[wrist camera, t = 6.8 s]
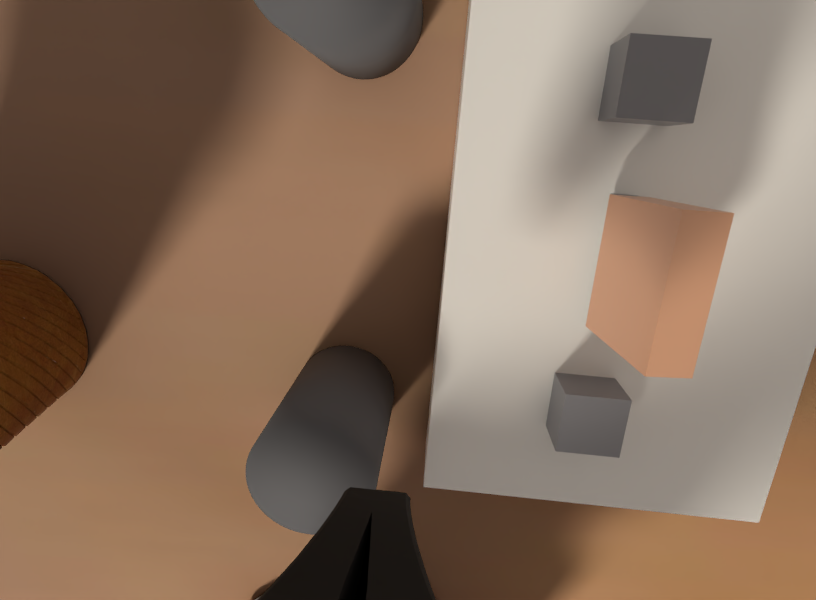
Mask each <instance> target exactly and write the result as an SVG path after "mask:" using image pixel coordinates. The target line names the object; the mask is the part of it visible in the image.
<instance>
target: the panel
mask: <svg viewBox="0 0 816 600" xmlns="http://www.w3.org/2000/svg"><path fill="white" fill-rule="evenodd" d="M610 193H619V194H630V195H637V196H641V197H652V198H657V199H662V200H668V201H673V202H678V203H684V204H689V205H694V206H699V207H705V208H710V209H715V210H721V211H726V212H731V213H734V217H733V221H732V225H731V229H730V232H729V236H728V240H727V244H726V248H725V252H724V256H723V260H722V264H721V268H720V272H719V276H718V280H717V283H716V287H715V291H714V295H713V299H712V303H711V307H710V311H709V315H708V319H707V323H706V327H705V331H704V334H703V338H702V342H701V346H700V350H699V354H698V358H697V362H696V366H695V370H694V374H693V378H692V379H691V378H667V377H645V376H644V375H643V374H641V373H640V372H639V371H638V370H637V369H636V368H634V367H633V366H632V365H631V364H630V363H628V362H627V361H626V360H625V359H624V358H623V357H621V356H620V355H619V354H618V353H617V352H615V351H614V350H613V349H612V348H611V347H610V346H608V345H607V344H606V343H605V342H604V341H602V340H601V339H600V338H599V337H598V336H597V335H595V334H594V333H593V332H592V331H591V330H590V329H588V328H587V327H586V321H587V315H588V310H589V304H590V299H591V294H592V288H593V283H594V277H595V272H596V266H597V261H598V256H599V250H600V245H601V239H602V234H603V228H604V223H605V218H606V212H607V207H608V201H609V196H610ZM815 347H816V0H469V7H468V17H467V27H466V37H465V48H464V58H463V68H462V78H461V89H460V99H459V109H458V119H457V130H456V140H455V150H454V160H453V171H452V181H451V191H450V201H449V212H448V222H447V232H446V242H445V253H444V263H443V273H442V283H441V294H440V304H439V314H438V324H437V335H436V345H435V355H434V365H433V376H432V386H431V396H430V407H429V417H428V427H427V437H426V451H425V468H424V485H423V487H429V488H438V489H447V490H457V491H466V492H476V493H485V494H494V495H504V496H513V497H523V498H532V499H541V500H551V501H560V502H570V503H579V504H588V505H598V506H607V507H617V508H626V509H635V510H645V511H654V512H663V513H673V514H682V515H692V516H701V517H710V518H720V519H729V520H739V521H748V522H757V523H759V520H760V517H761V514H762V511H763V508H764V505H765V502H766V499H767V496H768V492H769V489H770V486H771V483H772V480H773V477H774V474H775V471H776V468H777V465H778V462H779V458H780V455H781V452H782V449H783V446H784V443H785V440H786V437H787V434H788V431H789V428H790V424H791V421H792V418H793V415H794V412H795V409H796V406H797V403H798V400H799V397H800V393H801V390H802V387H803V384H804V381H805V378H806V375H807V372H808V369H809V366H810V363H811V359H812V356H813V353H814V350H815Z"/></svg>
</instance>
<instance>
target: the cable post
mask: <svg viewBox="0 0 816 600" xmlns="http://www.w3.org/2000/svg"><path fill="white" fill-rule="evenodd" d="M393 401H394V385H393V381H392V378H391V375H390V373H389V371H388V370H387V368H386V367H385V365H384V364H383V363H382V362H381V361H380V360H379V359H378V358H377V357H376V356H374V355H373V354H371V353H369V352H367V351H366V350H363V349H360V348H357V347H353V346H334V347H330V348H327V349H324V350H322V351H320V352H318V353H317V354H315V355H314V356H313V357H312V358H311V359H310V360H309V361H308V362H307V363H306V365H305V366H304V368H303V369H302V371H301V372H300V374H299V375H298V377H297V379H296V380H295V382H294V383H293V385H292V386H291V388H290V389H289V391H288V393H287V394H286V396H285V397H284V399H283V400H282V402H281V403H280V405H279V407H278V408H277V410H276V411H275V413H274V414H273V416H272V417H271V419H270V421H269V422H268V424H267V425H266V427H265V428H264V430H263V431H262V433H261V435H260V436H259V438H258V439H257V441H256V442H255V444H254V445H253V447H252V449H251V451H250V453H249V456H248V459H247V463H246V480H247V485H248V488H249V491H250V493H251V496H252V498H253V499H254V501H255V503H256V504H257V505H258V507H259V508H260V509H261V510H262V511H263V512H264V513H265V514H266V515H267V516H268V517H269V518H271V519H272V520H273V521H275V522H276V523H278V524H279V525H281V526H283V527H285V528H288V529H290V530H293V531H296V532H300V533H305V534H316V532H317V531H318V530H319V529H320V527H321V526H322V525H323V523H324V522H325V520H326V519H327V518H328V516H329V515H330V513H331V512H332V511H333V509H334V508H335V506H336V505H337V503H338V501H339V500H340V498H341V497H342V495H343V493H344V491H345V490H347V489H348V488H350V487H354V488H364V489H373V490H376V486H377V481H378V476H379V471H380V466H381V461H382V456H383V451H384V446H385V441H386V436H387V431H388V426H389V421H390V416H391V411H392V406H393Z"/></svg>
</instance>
